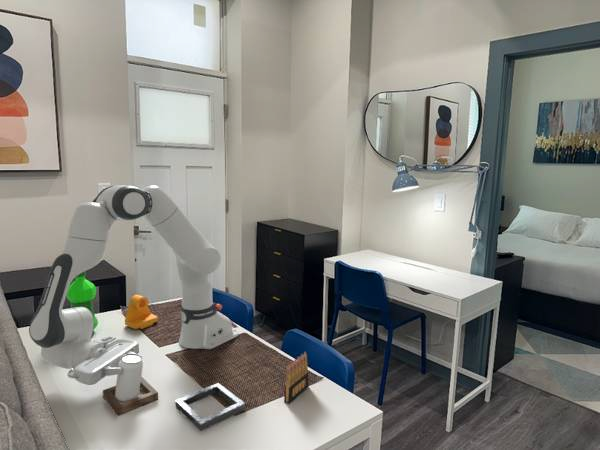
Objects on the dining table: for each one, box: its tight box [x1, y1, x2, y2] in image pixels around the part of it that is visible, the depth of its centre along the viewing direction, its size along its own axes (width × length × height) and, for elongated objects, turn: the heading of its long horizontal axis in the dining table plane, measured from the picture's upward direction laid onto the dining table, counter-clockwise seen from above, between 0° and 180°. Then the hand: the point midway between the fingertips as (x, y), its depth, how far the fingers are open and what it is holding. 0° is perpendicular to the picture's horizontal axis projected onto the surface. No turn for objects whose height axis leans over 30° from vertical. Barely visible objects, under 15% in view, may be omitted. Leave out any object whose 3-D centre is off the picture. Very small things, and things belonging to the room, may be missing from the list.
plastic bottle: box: [66, 270, 99, 330], centre depth 165 cm, size 10×10×25 cm
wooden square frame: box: [102, 376, 159, 417], centre depth 124 cm, size 12×12×2 cm
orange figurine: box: [124, 294, 159, 330], centre depth 175 cm, size 11×7×12 cm, turn 143°
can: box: [115, 353, 144, 403], centre depth 123 cm, size 6×6×12 cm
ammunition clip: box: [283, 351, 309, 404], centre depth 127 cm, size 11×2×12 cm, turn 147°
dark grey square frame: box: [175, 382, 246, 432], centre depth 121 cm, size 14×14×2 cm
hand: (131, 365), depth 122 cm, fingers closed on can, 5 cm apart
